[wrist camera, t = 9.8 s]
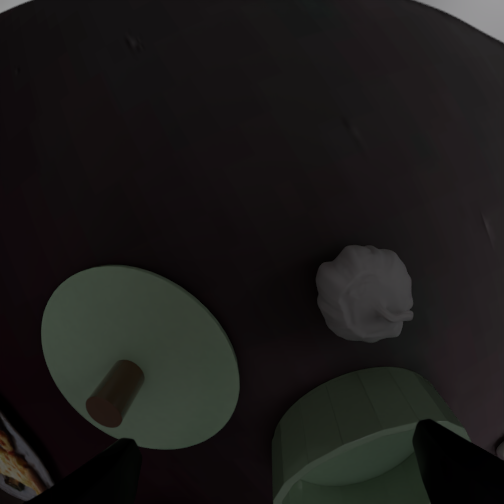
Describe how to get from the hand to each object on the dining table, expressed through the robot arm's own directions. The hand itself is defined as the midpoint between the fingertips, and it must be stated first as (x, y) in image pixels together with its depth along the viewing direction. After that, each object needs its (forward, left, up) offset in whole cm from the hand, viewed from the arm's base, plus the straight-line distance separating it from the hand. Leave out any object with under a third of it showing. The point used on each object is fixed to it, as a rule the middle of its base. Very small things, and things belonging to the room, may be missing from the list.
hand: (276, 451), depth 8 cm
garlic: (+5, +2, -12) cm, 13 cm away
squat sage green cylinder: (+7, -12, -11) cm, 18 cm away
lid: (-10, -4, -11) cm, 15 cm away
